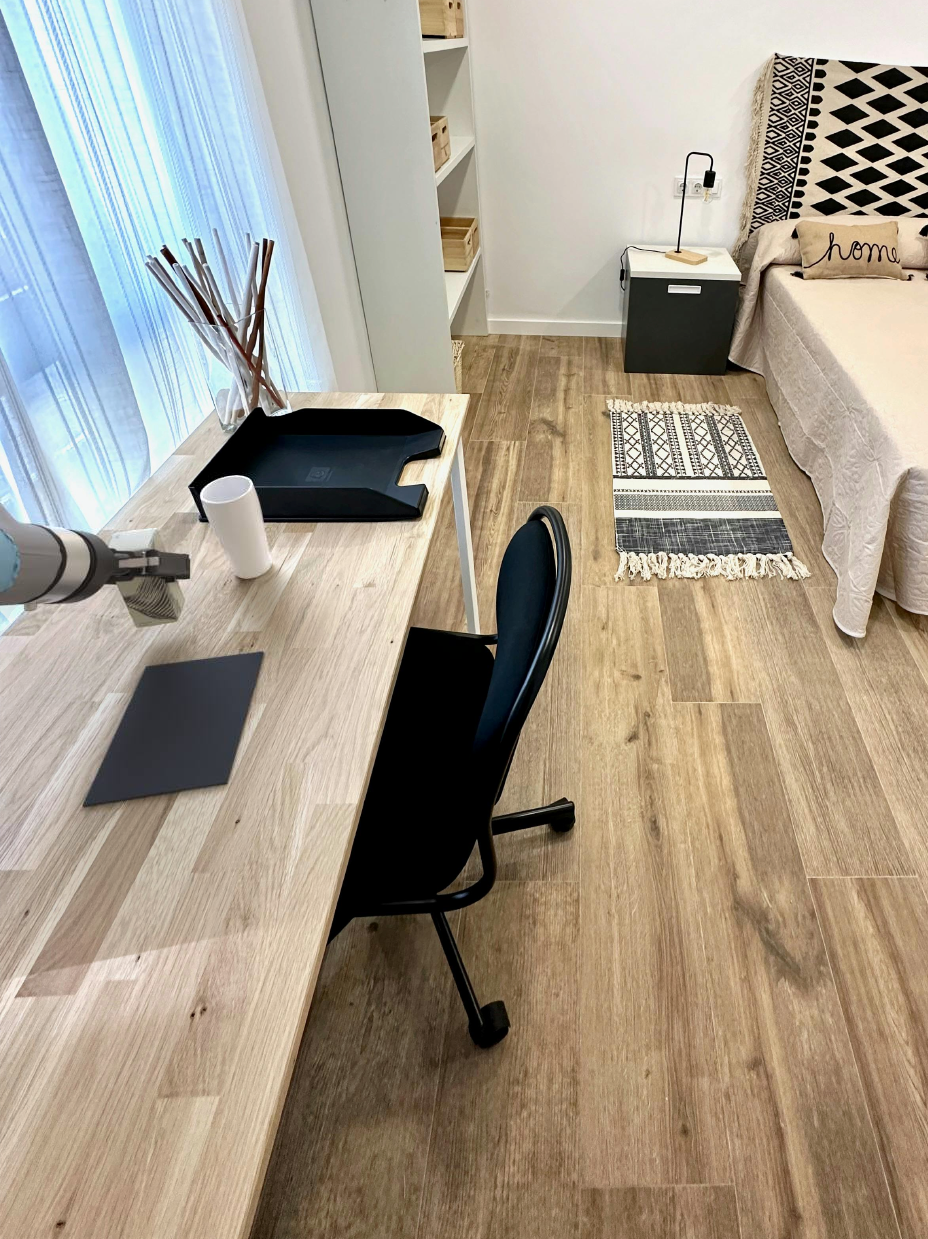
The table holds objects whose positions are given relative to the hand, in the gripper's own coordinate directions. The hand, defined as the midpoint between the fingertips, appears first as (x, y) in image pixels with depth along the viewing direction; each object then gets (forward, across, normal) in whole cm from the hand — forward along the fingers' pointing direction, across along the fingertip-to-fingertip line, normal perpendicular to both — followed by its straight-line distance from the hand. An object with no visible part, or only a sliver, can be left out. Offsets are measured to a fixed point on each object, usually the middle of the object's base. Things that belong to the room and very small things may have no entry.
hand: (162, 571), depth 88 cm
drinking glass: (+10, +8, 0) cm, 13 cm away
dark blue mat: (-8, +6, -18) cm, 21 cm away
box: (0, 0, -6) cm, 6 cm away
